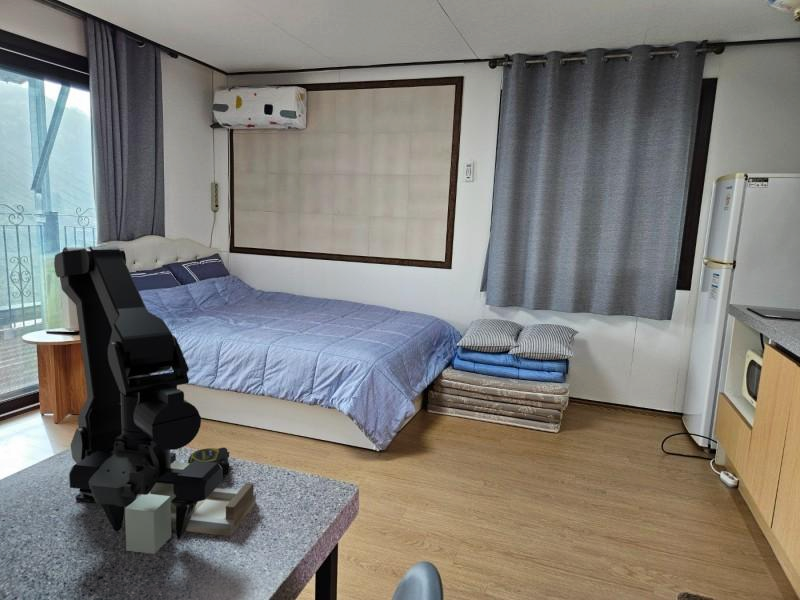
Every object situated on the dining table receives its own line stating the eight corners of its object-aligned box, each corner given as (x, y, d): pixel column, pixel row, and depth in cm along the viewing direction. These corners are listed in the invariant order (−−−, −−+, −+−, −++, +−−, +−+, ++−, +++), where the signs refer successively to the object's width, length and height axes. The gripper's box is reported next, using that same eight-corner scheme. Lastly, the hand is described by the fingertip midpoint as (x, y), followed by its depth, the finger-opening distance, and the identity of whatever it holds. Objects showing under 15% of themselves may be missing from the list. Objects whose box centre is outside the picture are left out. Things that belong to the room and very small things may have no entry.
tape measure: (229, 482, 90) (229, 461, 89) (186, 486, 87) (186, 465, 87) (229, 464, 96) (229, 444, 95) (189, 467, 94) (189, 447, 93)
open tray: (137, 525, 76) (136, 480, 75) (171, 494, 84) (171, 453, 83) (230, 536, 74) (230, 490, 73) (255, 503, 83) (256, 462, 82)
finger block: (126, 550, 70) (124, 508, 69) (146, 531, 74) (145, 491, 74) (154, 554, 69) (153, 511, 69) (173, 534, 74) (172, 494, 73)
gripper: (31, 442, 62) (39, 563, 65) (180, 456, 60) (182, 581, 63) (96, 410, 73) (100, 514, 76) (224, 421, 71) (224, 528, 73)
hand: (149, 533), depth 72 cm, fingers open, 9 cm apart
